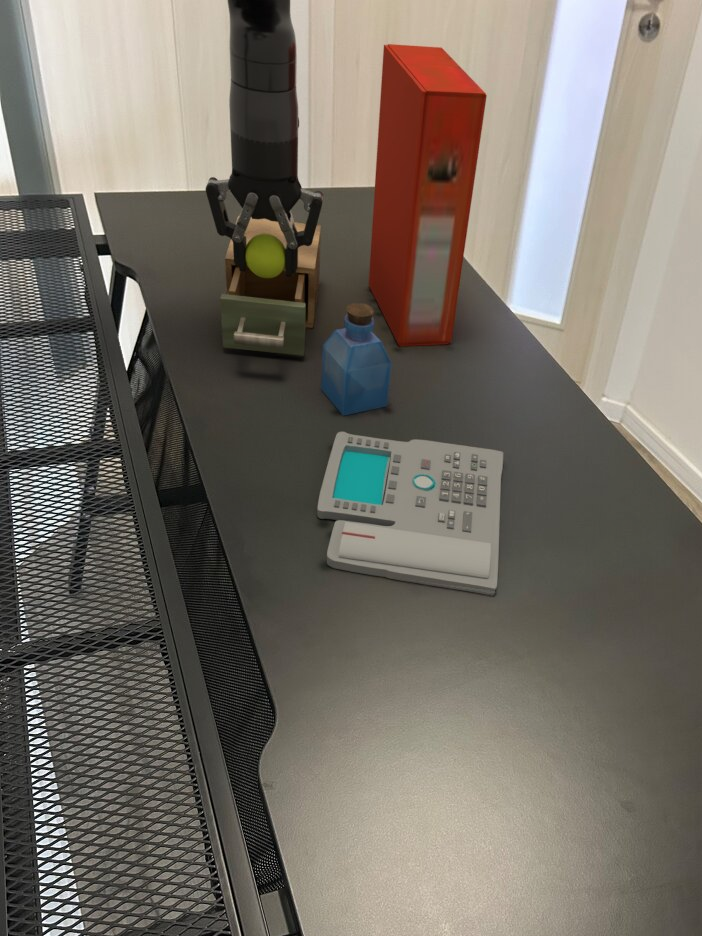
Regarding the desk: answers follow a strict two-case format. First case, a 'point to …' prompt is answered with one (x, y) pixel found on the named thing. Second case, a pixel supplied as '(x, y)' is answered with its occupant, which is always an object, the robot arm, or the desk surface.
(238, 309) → the drawer
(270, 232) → the cabinet
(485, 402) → the desk surface
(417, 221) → the file binder
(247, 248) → the ball
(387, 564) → the office telephone
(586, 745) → the desk surface
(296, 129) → the robot arm
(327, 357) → the perfume bottle
